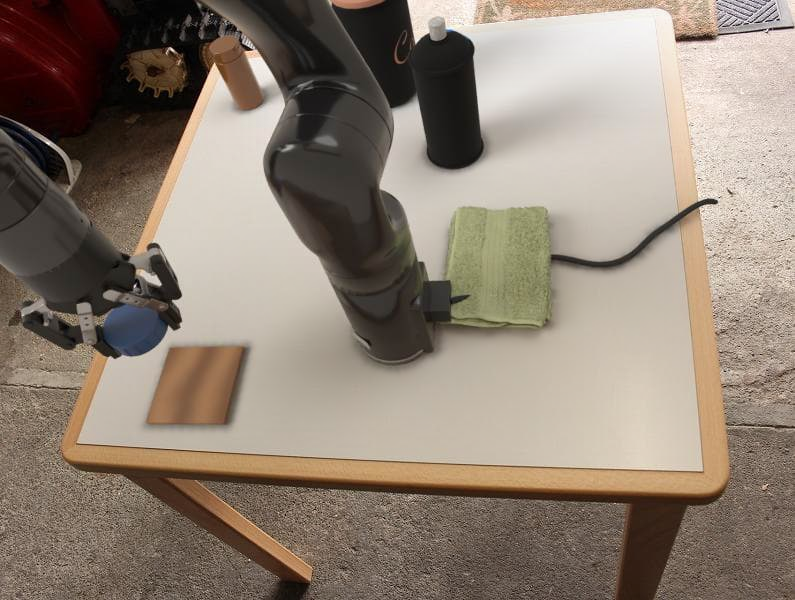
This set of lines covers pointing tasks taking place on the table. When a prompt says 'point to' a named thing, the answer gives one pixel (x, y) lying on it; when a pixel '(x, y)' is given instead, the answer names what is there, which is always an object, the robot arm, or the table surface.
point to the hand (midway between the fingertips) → (147, 336)
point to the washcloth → (500, 267)
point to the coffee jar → (382, 42)
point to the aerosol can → (447, 95)
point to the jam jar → (237, 72)
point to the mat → (196, 386)
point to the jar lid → (134, 330)
